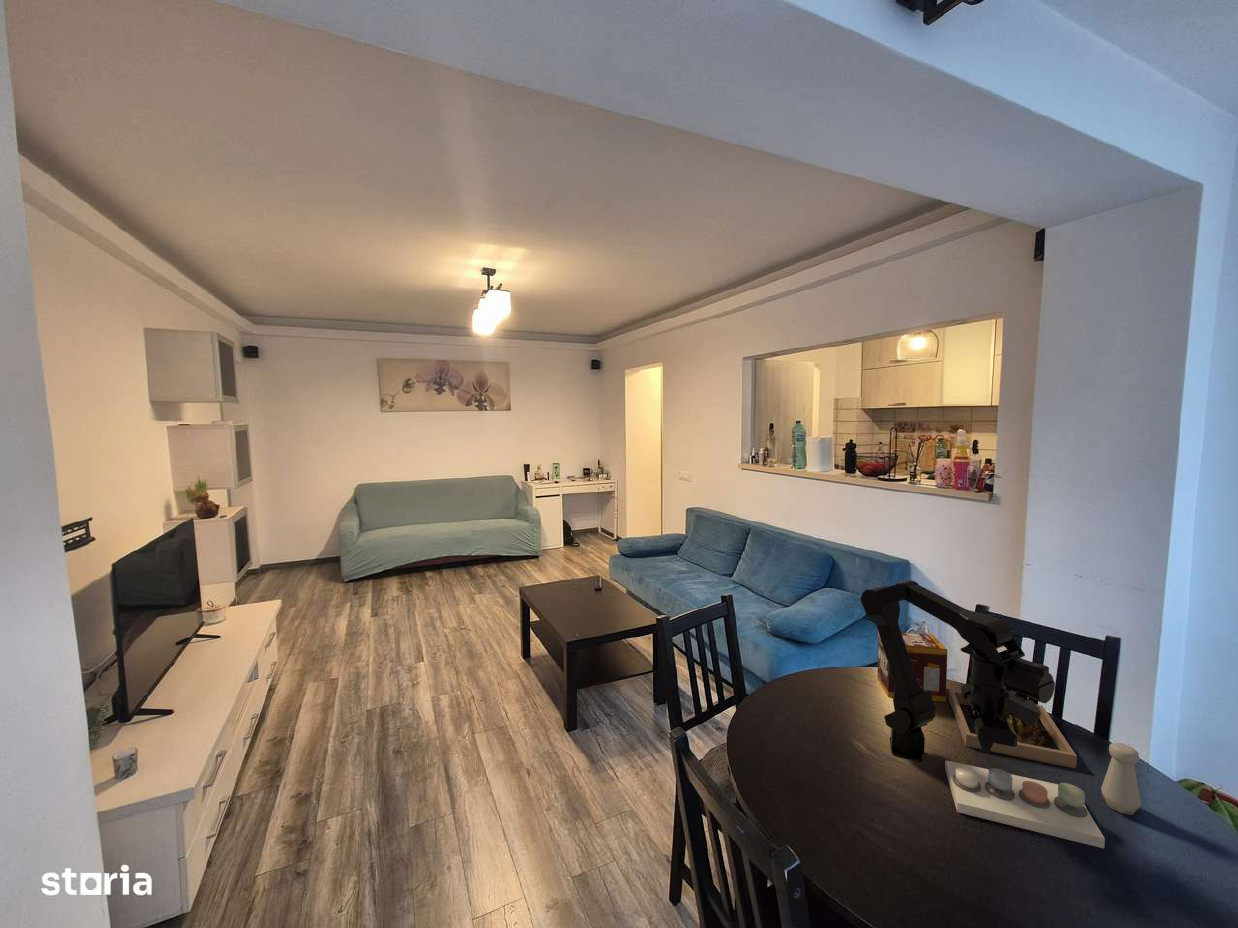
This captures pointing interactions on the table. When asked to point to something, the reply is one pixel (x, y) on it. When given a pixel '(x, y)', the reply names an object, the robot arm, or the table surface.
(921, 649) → the supplement box
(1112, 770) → the salt shaker
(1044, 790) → the terracotta button
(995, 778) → the slate button
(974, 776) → the ivory button
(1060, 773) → the table surface
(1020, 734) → the cactus
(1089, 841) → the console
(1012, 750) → the planter tray
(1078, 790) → the sage button
